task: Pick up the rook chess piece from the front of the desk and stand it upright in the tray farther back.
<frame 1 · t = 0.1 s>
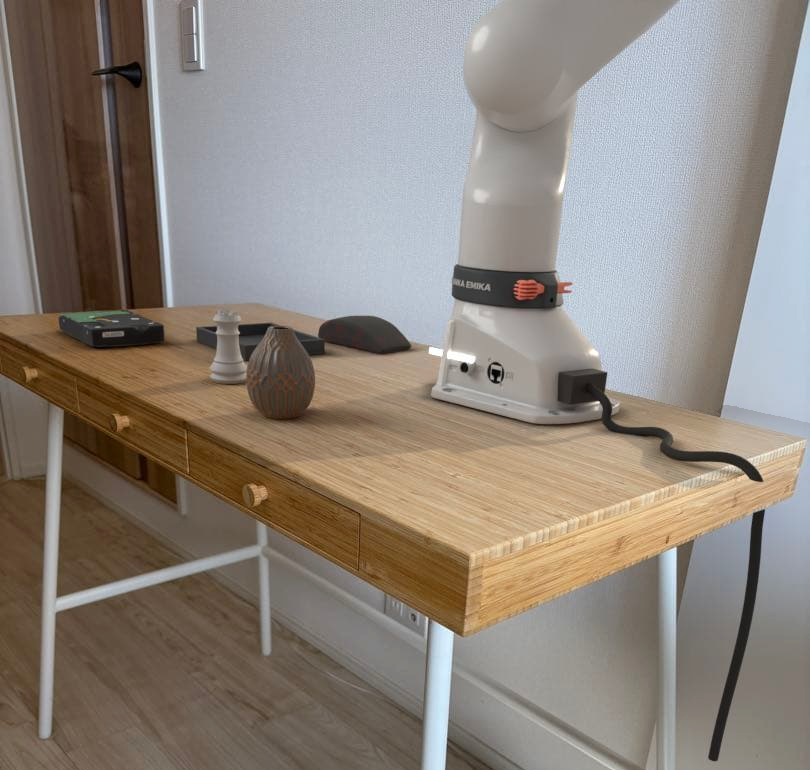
rook chess piece: (229, 382, 98), on the table
disk drive: (111, 338, 119), on the table
vase: (281, 416, 86), on the table
computer mouse: (362, 346, 123), on the table
tray: (259, 347, 118), on the table
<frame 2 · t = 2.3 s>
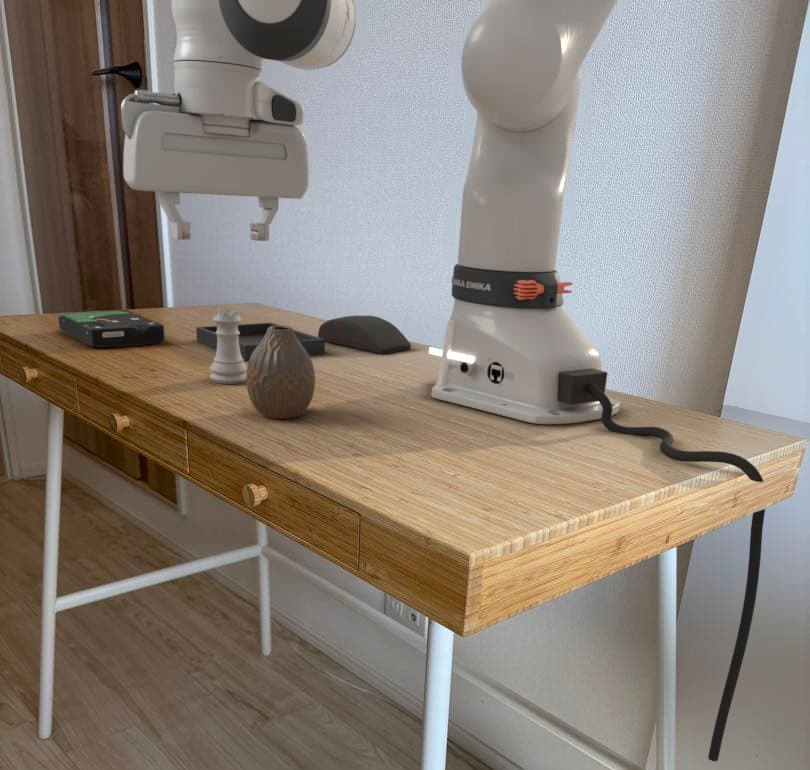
hand: (221, 239, 92), 16 cm above the table, tool pointing down, fingers open, 8 cm apart
nothing on the table moved.
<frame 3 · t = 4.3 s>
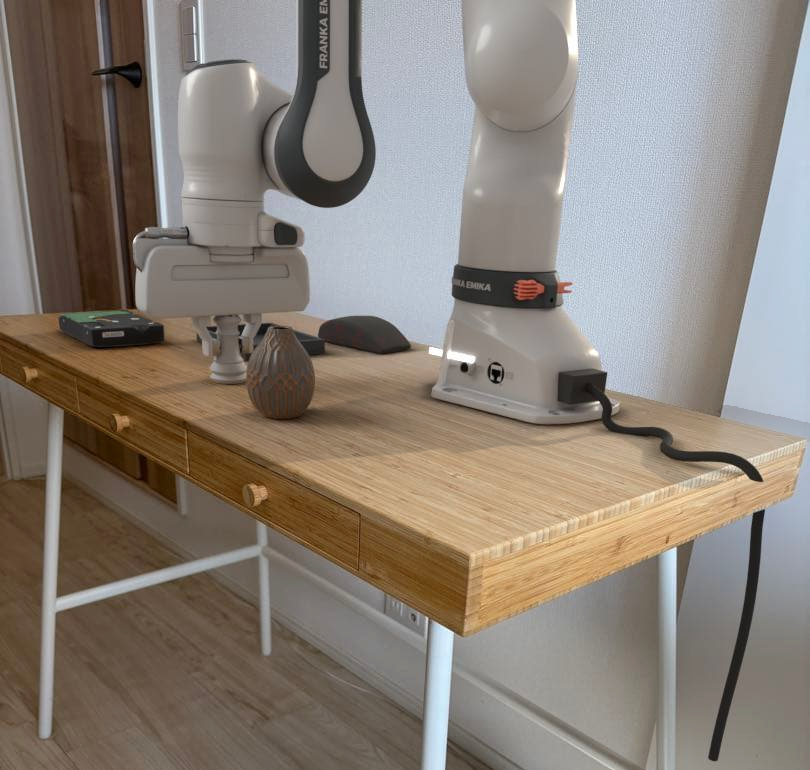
hand: (228, 354, 97), 3 cm above the table, tool pointing down, fingers closed on rook chess piece, 3 cm apart
rook chess piece: (229, 382, 98), on the table, touching gripper
everything else where it was.
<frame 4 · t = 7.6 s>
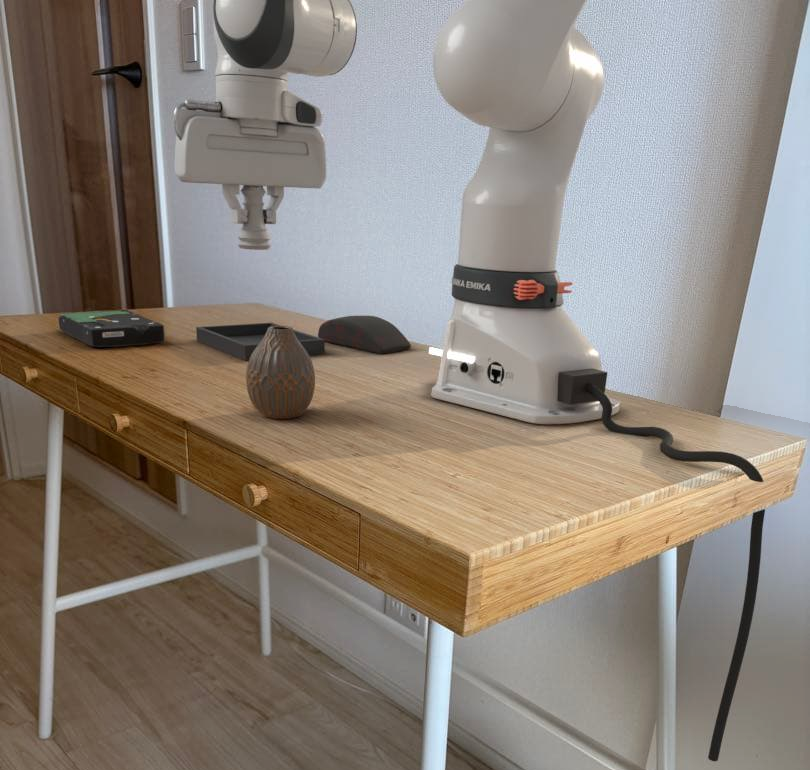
hand: (254, 223, 109), 17 cm above the table, tool pointing down, fingers closed on rook chess piece, 3 cm apart
rook chess piece: (254, 250, 111), point 13 cm above the table, touching gripper
everything else where it was.
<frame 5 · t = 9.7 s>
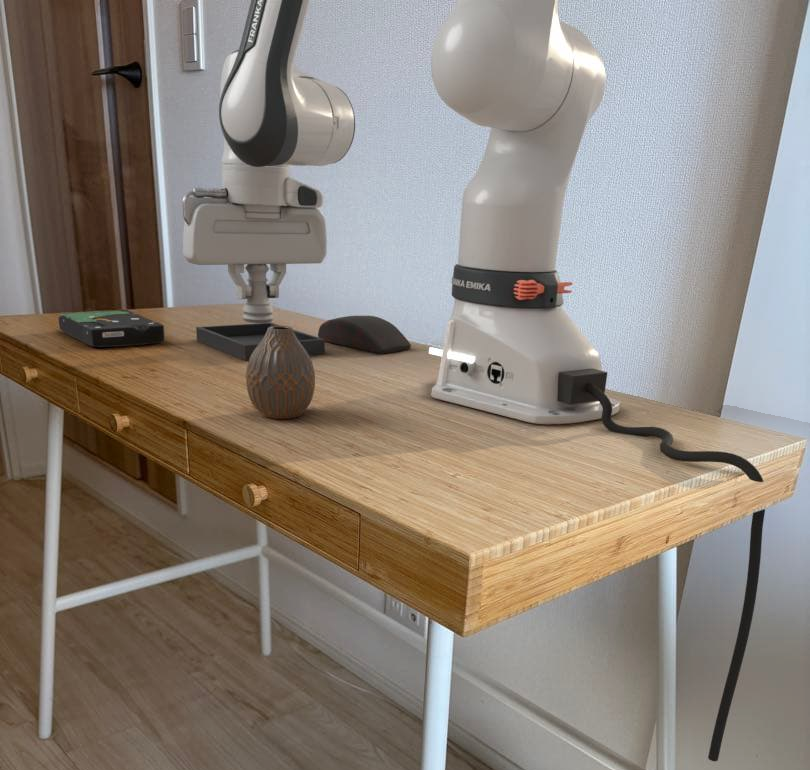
hand: (258, 298, 115), 7 cm above the table, tool pointing down, fingers closed on rook chess piece, 3 cm apart
rook chess piece: (258, 322, 117), point 3 cm above the table, touching gripper
everything else where it was.
when the fingers open (3 cm above the table, at t = 11.0 s): rook chess piece stays where it is, resting on tray.
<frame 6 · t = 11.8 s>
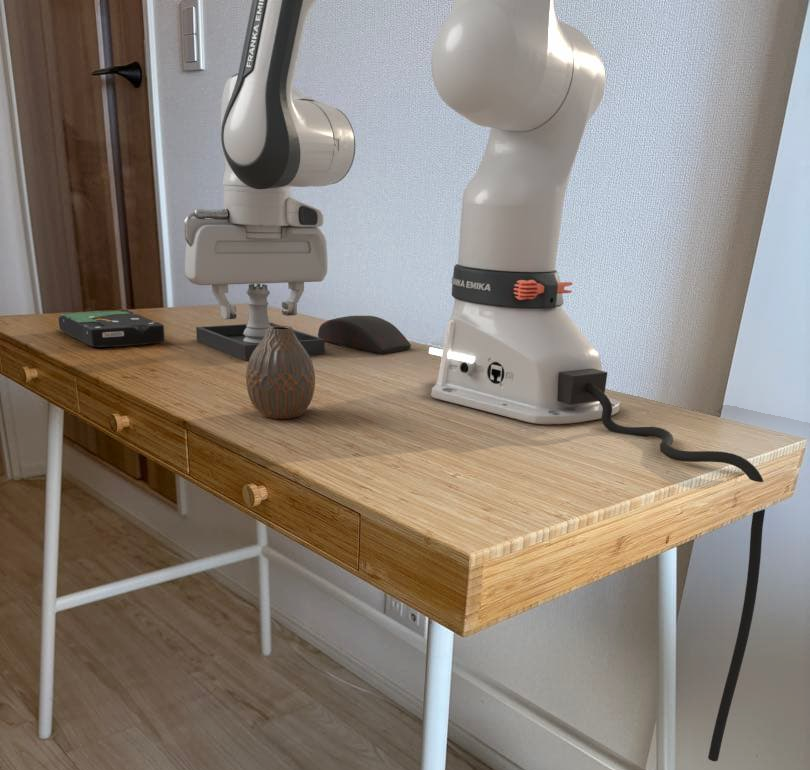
hand: (259, 316, 116), 4 cm above the table, tool pointing down, fingers open, 8 cm apart
rook chess piece: (259, 345, 118), resting on tray
everything else where it was.
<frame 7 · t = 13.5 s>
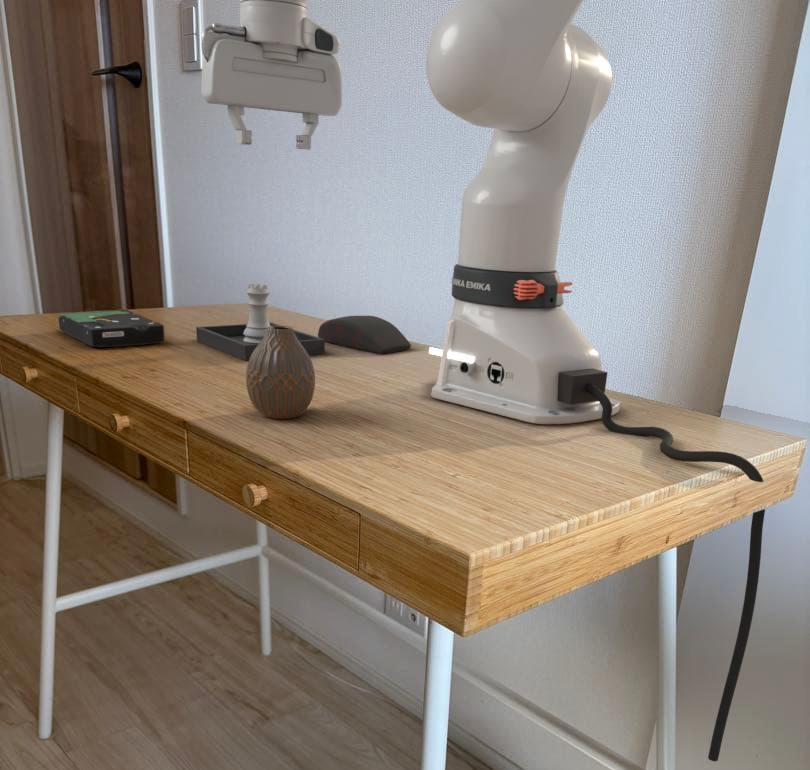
hand: (274, 147, 116), 26 cm above the table, tool pointing down, fingers open, 8 cm apart
nothing on the table moved.
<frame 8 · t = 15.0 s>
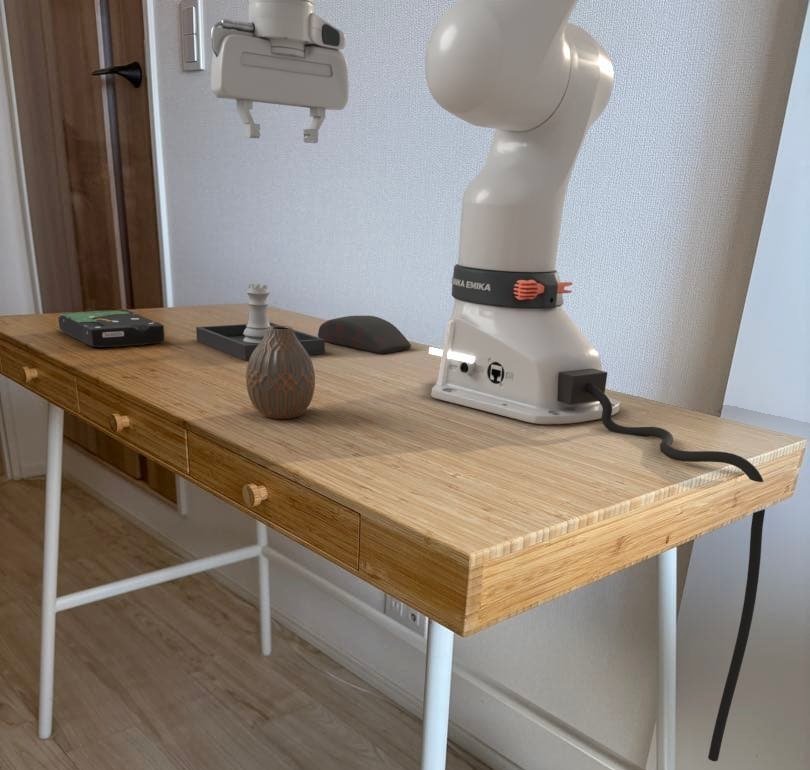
hand: (282, 140, 119), 27 cm above the table, tool pointing down, fingers open, 8 cm apart
nothing on the table moved.
at the end: rook chess piece inside the target area in the tray (0.1 cm from its centre), point 0.3 cm above the tray's base; rook chess piece tilted 0°; the gripper is holding nothing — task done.
